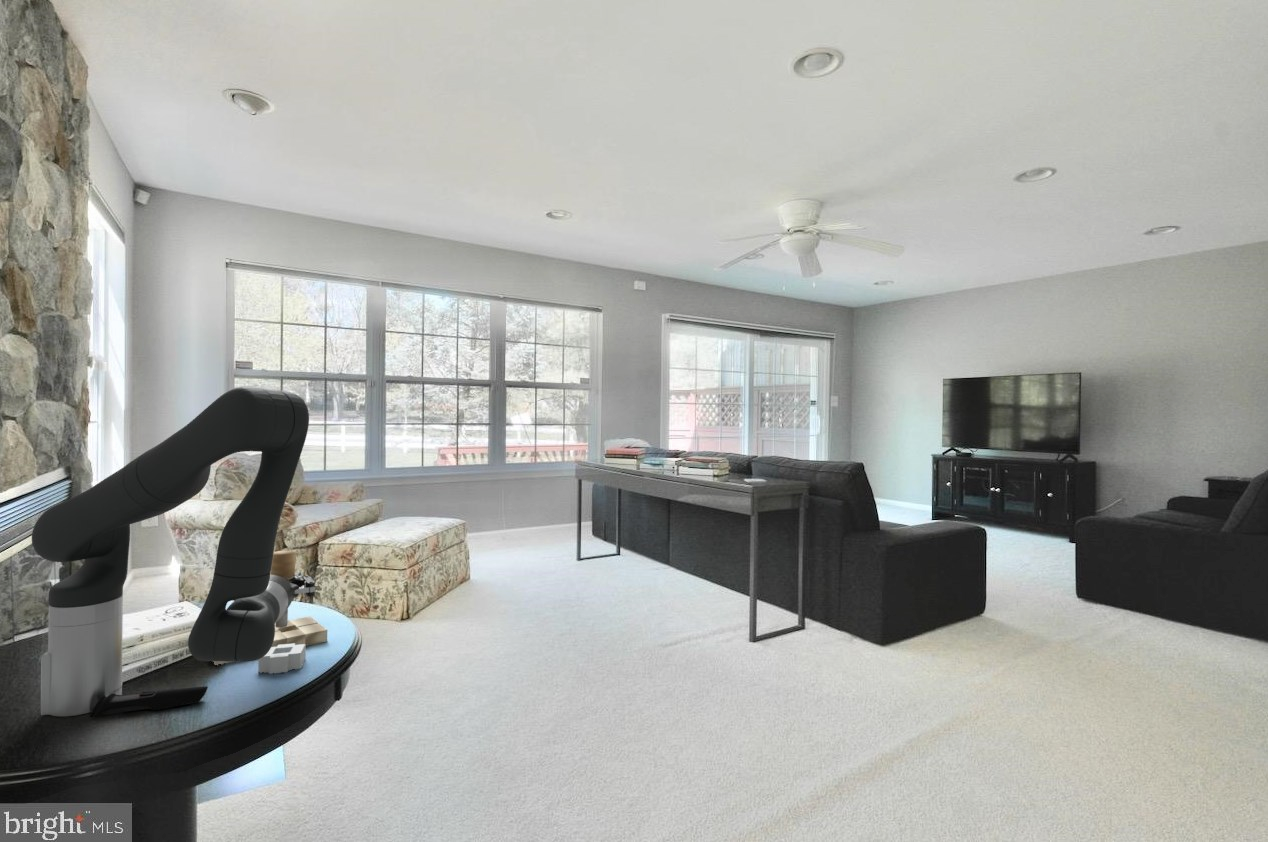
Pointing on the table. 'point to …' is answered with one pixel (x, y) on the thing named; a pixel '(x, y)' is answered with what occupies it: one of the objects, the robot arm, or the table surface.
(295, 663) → the block
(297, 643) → the board
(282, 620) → the awl
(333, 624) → the table surface
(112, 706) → the electric trimmer
